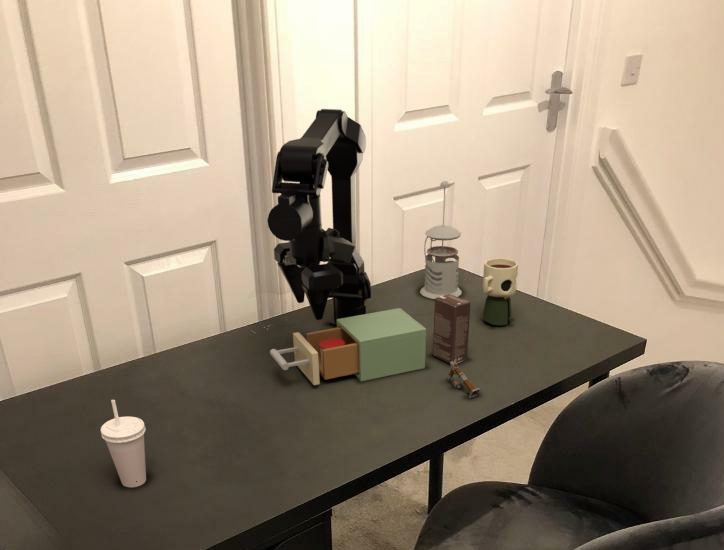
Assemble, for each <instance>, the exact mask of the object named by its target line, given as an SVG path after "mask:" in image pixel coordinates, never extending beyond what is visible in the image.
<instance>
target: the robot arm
mask: <svg viewBox="0 0 724 550" xmlns="http://www.w3.org/2000/svg"><path fill="white" fill-rule="evenodd" d="M366 147H367V138H366V133H365V131H364V129H363V127H362V125H361V124H360V123H358V122H357V121H355V120H354V119H353V118H351V117H349V116H348V114H347V111H345V110H342V109H339V108H338V109H336V108H321V109H319V110H317V111H316V114H315V119H314V120H313V121H312V122H311V124H310V125H309V126H308V128H307V129H306V131H305V132H304V133H303V134H302V136H301V137H300V138H296V139H292V140H288V141H287V142H286V143H283V145H282V146H281V147H280V149H279V150H278V152H277V154H276V157H275V158H276V159H275V165H274V172H273V178H272V179H273V180H272V187H271V192H272V194H279V195H278V196H277V204H276V205H274V206H273V207H272V208H271V209H270V211H269V213H268V215H267V226H268V229H269V231H270V232H271V233H272V235H273V236H274V237H275V238H277V239H279V240H280V241H284V242H280V243H277V245H276V246H274V248H273V255H274V257H273V258H274V260H275V261H276V262H277V266H278V267H279V269H280V271H281V273H282V275H283V277H284V278H285V280H286V282H287V284H288V286H289V288H290V290H291V292H292V294H293V296H294V298H295V301H296V302H297V303H298V304H302V303H304V302H305V296H306V299H307V302H308V304H309V306H310V309H311V310H312V311H311V312H312V314H313V316H314V319H315V320H316V321H320V320H323V317H324V314H325V312H326V311H325V310H326V308H327V307H326V306H327V303H328V300H329V299H332V302H333V305H332V306H333V319H331V320H328V324H329V325H332V326H335V327H337V319H341V318H347V317H353V316H358V315H364V314H367V307H366V306H367V305H366V303H365V302H366V301H367V300H368V299H371V298H372V288H371V287H372V286H371V285H372V284H371V280H370V279H369V276H368V274H367V272H366V271H365V260H364V259H363V257H362V256H361V255H360V253H359V251H358V250H357V221H356V219H357V214H356V211H357V210H356V173H357V172H358V169H359V168H360V166H361V164H362V162H363V160H364V153H365V152H366ZM327 173H329V176H330V177H331V203H332V204H331V205H332V206H331V207H332V208H331V209H332V227H327V229H326V230H325V229H324V228H323V223H322V204H321V203H322V202H321V201H322V200H321V192H322V190H324V188H325V185H326V180H327V175H328V174H327ZM321 262H323V263H321Z"/></svg>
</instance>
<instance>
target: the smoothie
mask: <svg viewBox="0 0 724 550" xmlns="http://www.w3.org/2000/svg"><path fill="white" fill-rule="evenodd" d="M110 401H111V407H112V412H113V415H114V417H113V418H112V419H109V420H107V421H106V422H105V423H103V424H102V426H101V427H100V434H101V438H102V439H103V440H104V441H105V443H106V446H107V448H108V451H109V453H110V456H111V460H112V461H113V464H114V467H115V468H116V472H117V475H118V477H119V480H120V483H121V485H122V486H123V487H126V488H137V487H140V486H142V485H144V484H145V483H146V482H147V468H146V449H145V433H146V425H145V422H144V421H143V420H142V419H141V418H139V417H136V416H127V415H126V416H119V413H118V408H117V403H116V400H115V399H110ZM136 481H137V482H136Z"/></svg>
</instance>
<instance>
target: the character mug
mask: <svg viewBox="0 0 724 550" xmlns="http://www.w3.org/2000/svg"><path fill="white" fill-rule="evenodd" d="M518 271H519V262H518V261H516V260H514V259H512V258H507V257H493V258H488V259H485V261H484V265H483V275H482V293H484V294H485V295H486V298H485V302H484V306H483V311H482V320H483V321H484V322H486V323H488V324H491V325H493V326H505V325H508V320H509V323H512V316H513V315H512V299H511V297H512V296H514V295H515V293H516V292H517V278H518Z"/></svg>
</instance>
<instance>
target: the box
mask: <svg viewBox="0 0 724 550" xmlns="http://www.w3.org/2000/svg"><path fill="white" fill-rule="evenodd" d="M471 302H472V301H469V300H468V299H464V298H461V297H460V296H458V297H456V296H454V295H451V294H448V295H444V296H440V297H437V298H435V299H434V311H433V312H434V313H433V334H432V336H433V338H432V357H434V358H437V359H439V360H442V361H443V362H446V363H448V364H450V362H451V361H453V362H456V363H457V364H461V363H463V362H465V361H467V359H468V348H469V335H470V319H471V317H470V316H471V305H472V303H471Z"/></svg>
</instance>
